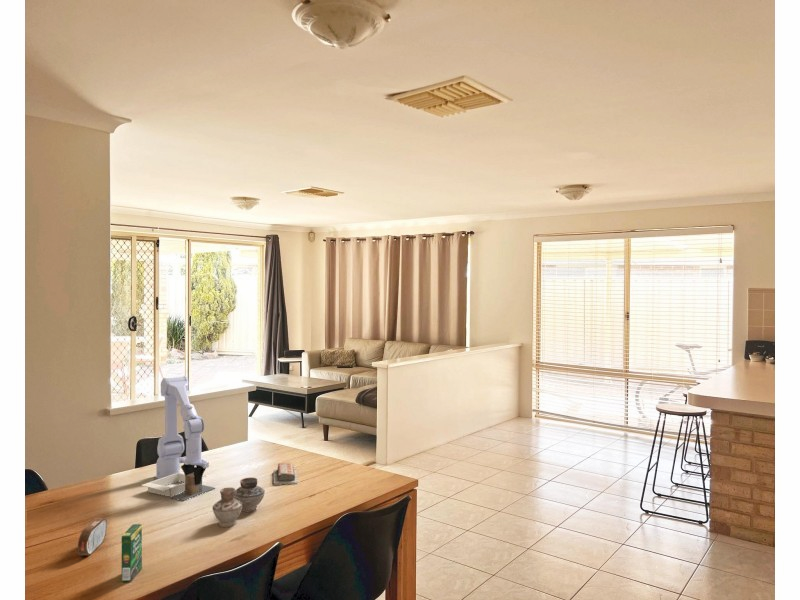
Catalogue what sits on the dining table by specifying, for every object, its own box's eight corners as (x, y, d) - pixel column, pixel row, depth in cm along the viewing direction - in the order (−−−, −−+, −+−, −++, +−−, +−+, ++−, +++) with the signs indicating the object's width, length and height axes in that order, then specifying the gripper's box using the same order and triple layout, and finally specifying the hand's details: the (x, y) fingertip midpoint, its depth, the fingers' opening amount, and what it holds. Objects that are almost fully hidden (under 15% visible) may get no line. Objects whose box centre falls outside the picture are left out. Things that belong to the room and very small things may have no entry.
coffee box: (131, 582, 157) (131, 535, 157) (120, 583, 157) (120, 535, 157) (142, 568, 165) (142, 523, 165) (132, 568, 165) (132, 523, 165)
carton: (141, 493, 226) (141, 484, 226) (184, 478, 245) (184, 470, 245) (163, 499, 220) (163, 490, 220) (205, 483, 239) (206, 475, 239)
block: (185, 493, 226) (185, 475, 226) (195, 489, 230) (195, 472, 230) (192, 495, 224) (192, 477, 224) (202, 491, 228) (202, 473, 228)
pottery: (205, 528, 194) (205, 493, 194) (242, 502, 218) (243, 470, 218) (235, 531, 191) (235, 496, 191) (269, 505, 216) (270, 473, 216)
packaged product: (273, 462, 255) (296, 461, 257) (273, 473, 255) (296, 471, 257) (273, 474, 237) (298, 473, 239) (273, 486, 237) (297, 485, 239)
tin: (98, 539, 185) (98, 513, 185) (108, 538, 185) (108, 513, 185) (76, 561, 170) (76, 532, 170) (87, 560, 170) (87, 532, 170)
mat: (170, 498, 222) (170, 497, 222) (203, 485, 236) (203, 484, 236) (183, 501, 218) (183, 500, 218) (215, 488, 233) (215, 487, 233)
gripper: (172, 449, 227) (172, 483, 227) (198, 454, 220) (198, 489, 220) (187, 444, 233) (187, 478, 233) (212, 449, 226) (212, 484, 226)
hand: (193, 483), depth 227 cm, fingers closed on block, 4 cm apart
